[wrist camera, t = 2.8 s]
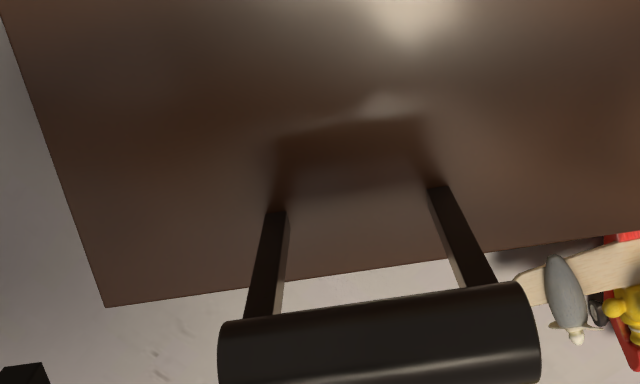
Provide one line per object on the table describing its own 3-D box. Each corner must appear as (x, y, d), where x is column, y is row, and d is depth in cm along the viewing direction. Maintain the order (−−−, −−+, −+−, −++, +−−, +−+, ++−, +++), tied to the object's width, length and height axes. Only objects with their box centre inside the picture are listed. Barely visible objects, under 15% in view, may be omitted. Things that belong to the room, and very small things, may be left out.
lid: (635, 219, 20) (855, 415, 12) (112, 296, 21) (-23, 522, 13) (651, -329, 14) (1086, -690, 6) (-56, -183, 15) (-476, -320, 7)
